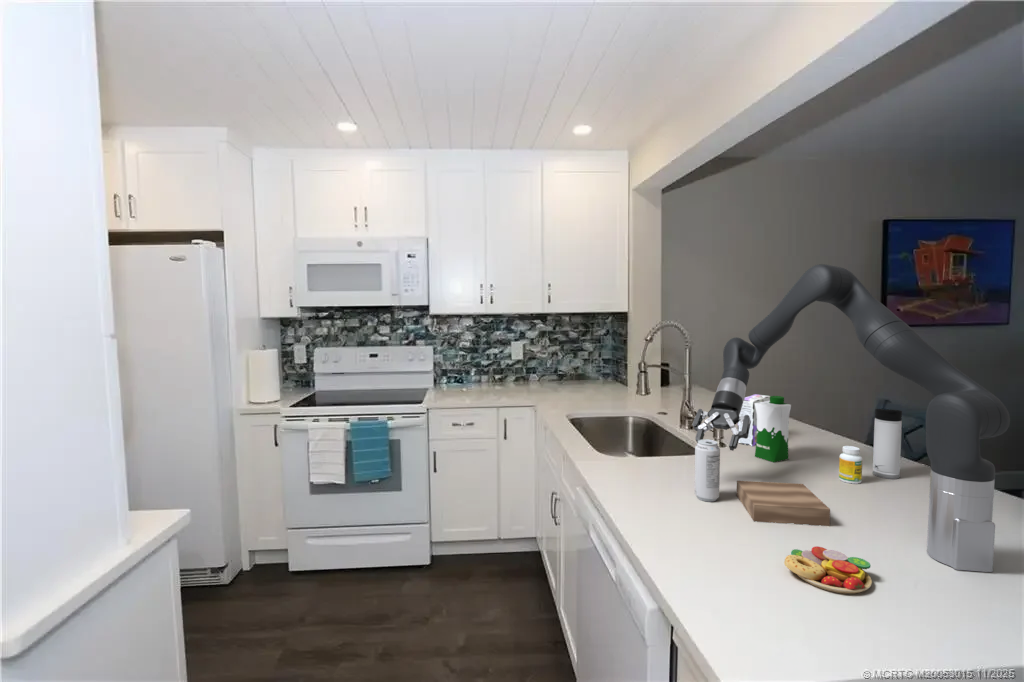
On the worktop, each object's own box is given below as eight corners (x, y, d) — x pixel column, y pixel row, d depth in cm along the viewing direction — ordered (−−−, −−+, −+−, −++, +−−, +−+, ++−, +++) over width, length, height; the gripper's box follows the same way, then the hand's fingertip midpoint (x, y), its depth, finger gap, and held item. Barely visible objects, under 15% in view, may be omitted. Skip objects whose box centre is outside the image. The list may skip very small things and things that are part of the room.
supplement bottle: (844, 476, 144) (845, 443, 143) (865, 481, 140) (866, 448, 139) (835, 480, 141) (836, 447, 141) (856, 485, 137) (857, 451, 136)
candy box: (754, 436, 188) (754, 393, 187) (770, 439, 184) (771, 395, 182) (736, 443, 179) (737, 398, 178) (752, 446, 175) (753, 400, 174)
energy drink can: (707, 492, 134) (708, 437, 133) (724, 500, 128) (725, 443, 127) (689, 495, 132) (690, 440, 130) (706, 504, 126) (706, 446, 125)
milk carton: (793, 459, 160) (794, 398, 158) (773, 463, 156) (775, 401, 155) (768, 452, 168) (770, 394, 166) (749, 456, 164) (751, 396, 163)
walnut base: (829, 526, 113) (830, 509, 112) (753, 521, 116) (754, 504, 115) (802, 498, 128) (802, 483, 128) (736, 495, 131) (736, 480, 131)
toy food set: (777, 576, 93) (777, 560, 93) (799, 551, 102) (799, 536, 102) (863, 607, 83) (863, 588, 83) (878, 576, 93) (879, 559, 92)
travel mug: (874, 477, 143) (877, 409, 141) (870, 470, 148) (873, 404, 147) (901, 481, 140) (904, 411, 138) (896, 473, 146) (899, 406, 144)
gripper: (700, 387, 143) (684, 434, 135) (753, 392, 134) (739, 443, 126) (707, 402, 148) (691, 448, 140) (758, 408, 138) (745, 458, 130)
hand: (714, 446), depth 133 cm, fingers open, 8 cm apart
